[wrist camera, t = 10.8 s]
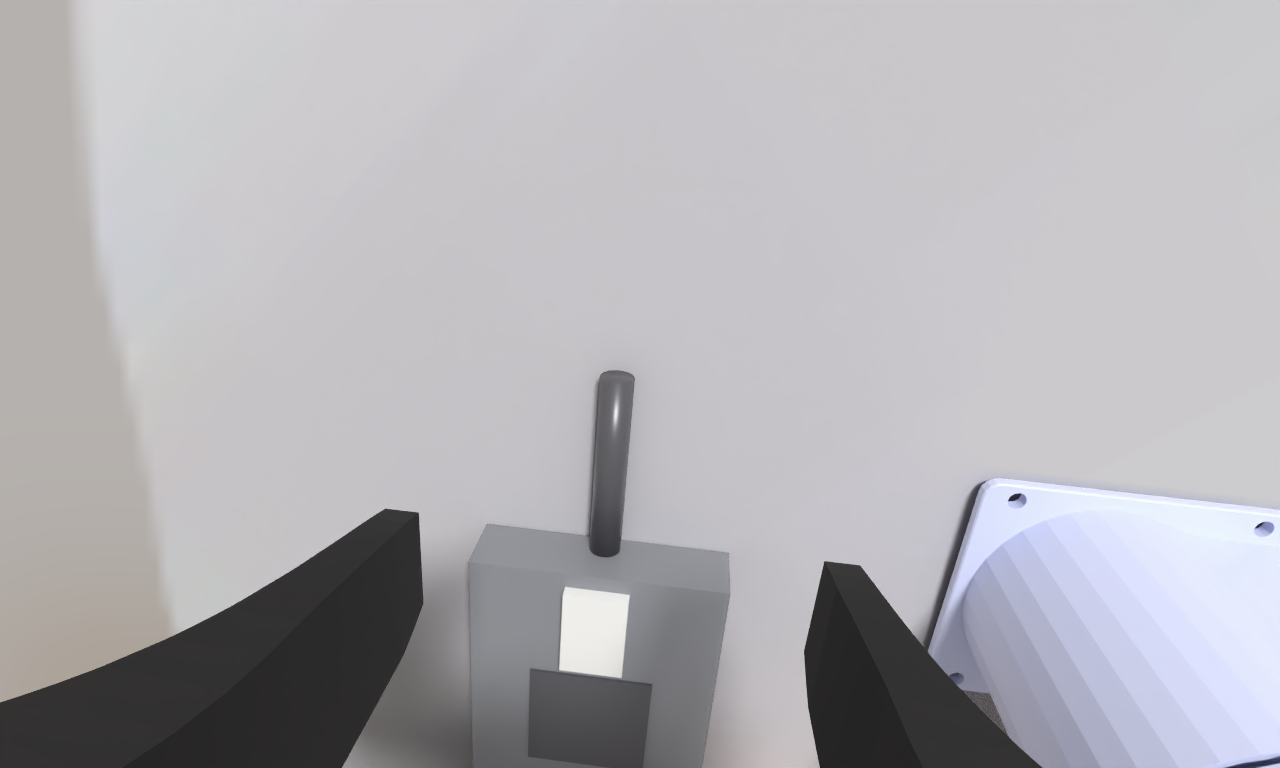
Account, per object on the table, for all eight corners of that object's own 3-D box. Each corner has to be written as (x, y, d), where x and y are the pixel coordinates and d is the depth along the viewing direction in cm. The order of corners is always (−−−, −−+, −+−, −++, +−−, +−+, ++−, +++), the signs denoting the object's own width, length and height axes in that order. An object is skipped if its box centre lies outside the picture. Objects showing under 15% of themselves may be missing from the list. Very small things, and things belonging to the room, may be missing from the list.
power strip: (755, 385, 21) (760, 422, 19) (674, 897, 31) (671, 960, 29) (485, 356, 22) (460, 389, 20) (489, 871, 32) (472, 931, 29)
